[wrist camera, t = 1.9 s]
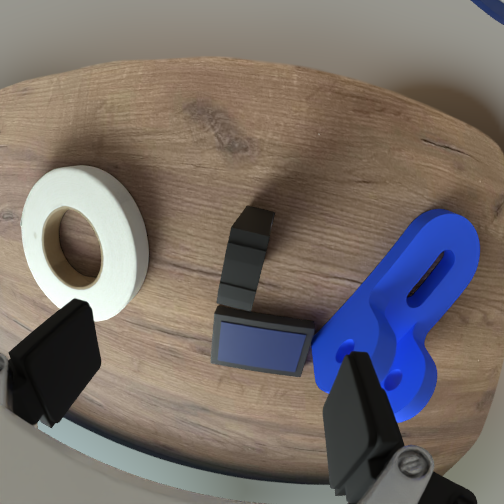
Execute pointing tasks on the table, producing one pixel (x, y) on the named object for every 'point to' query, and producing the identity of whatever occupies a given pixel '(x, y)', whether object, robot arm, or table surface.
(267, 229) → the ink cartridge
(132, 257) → the tape roll
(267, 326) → the ink pad
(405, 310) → the bracket
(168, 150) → the table surface
